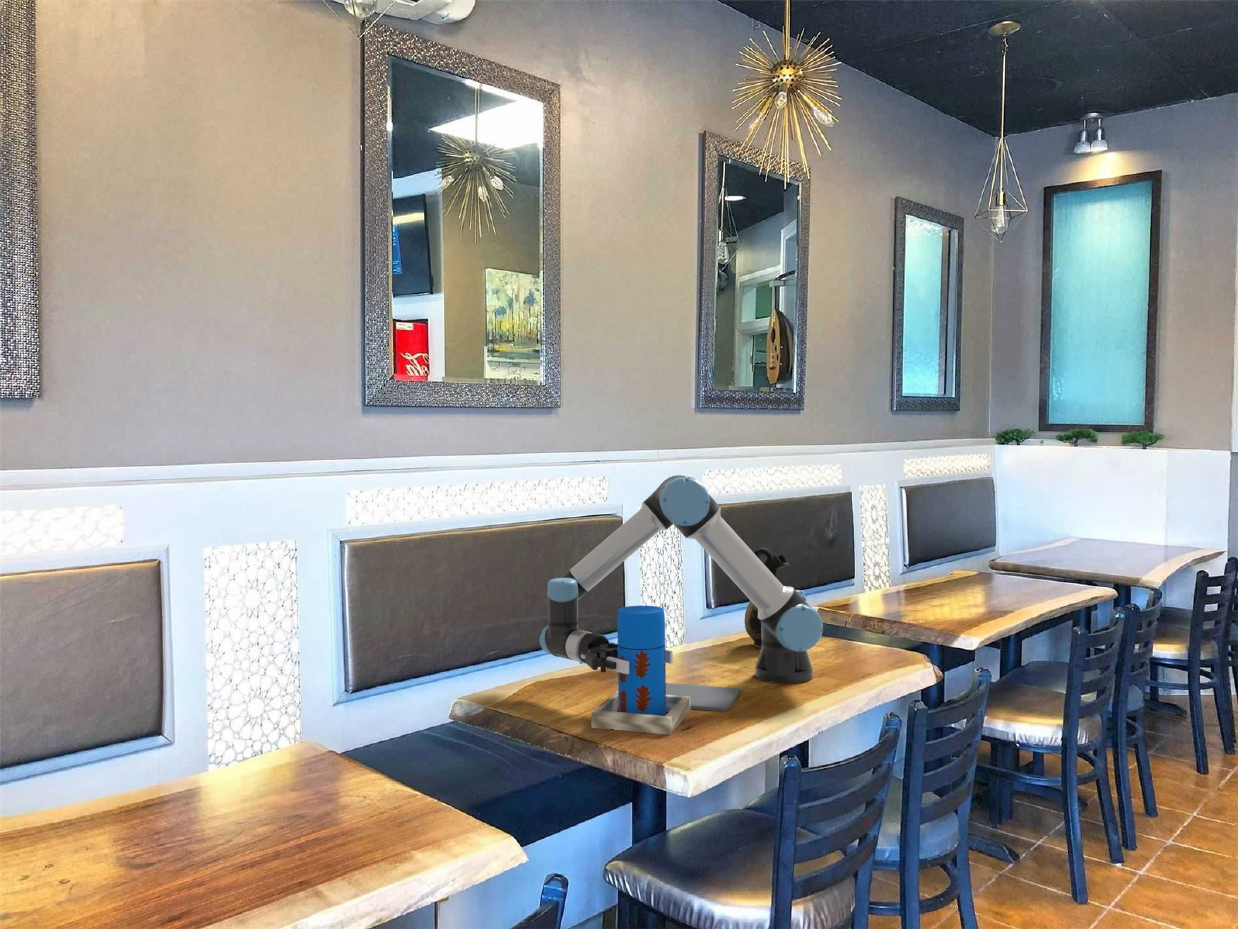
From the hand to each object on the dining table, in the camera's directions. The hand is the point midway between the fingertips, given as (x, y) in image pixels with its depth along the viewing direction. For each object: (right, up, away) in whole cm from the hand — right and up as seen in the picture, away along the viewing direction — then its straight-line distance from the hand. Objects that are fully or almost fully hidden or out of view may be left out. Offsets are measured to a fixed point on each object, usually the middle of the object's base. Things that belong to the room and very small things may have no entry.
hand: (650, 662), depth 206 cm
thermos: (-2, -14, +2) cm, 14 cm away
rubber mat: (+11, -13, +19) cm, 26 cm away
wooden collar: (-2, -13, +2) cm, 14 cm away
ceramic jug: (+39, -11, +75) cm, 86 cm away
